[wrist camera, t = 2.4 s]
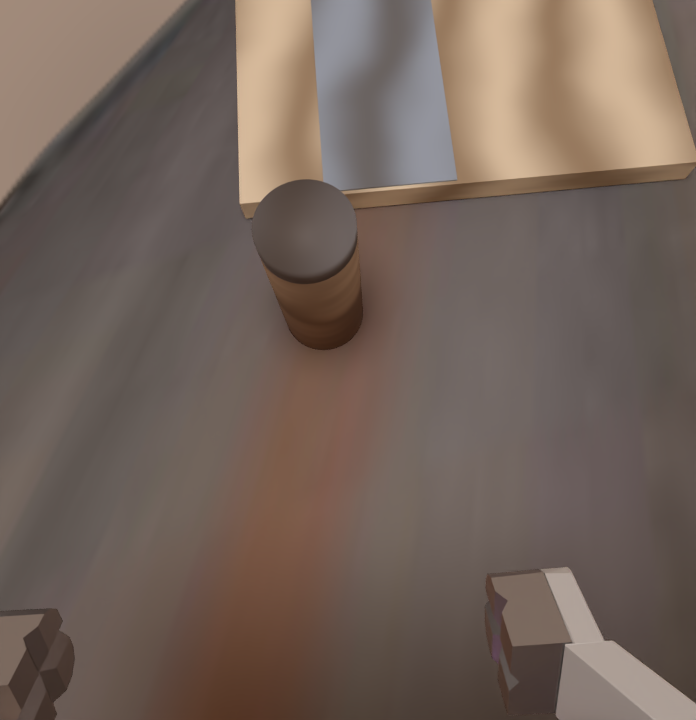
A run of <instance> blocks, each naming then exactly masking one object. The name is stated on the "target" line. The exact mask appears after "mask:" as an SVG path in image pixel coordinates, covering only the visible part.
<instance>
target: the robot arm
mask: <svg viewBox="0 0 696 720" xmlns="http://www.w3.org/2000/svg"><path fill="white" fill-rule="evenodd" d="M486 592H487V596H488V599H489V601H488V602H487V603H486V605H485V626H486V635H487V640H488V645H489V649H490V653H491V657H492V659H494V660H495V661H496V662H497V663H498V664H499V667H498V683H499V686H500V690H501V693H502V697H503V701H504V704H505V708H506V711H507V715H530V714H551V713H556V717H557V718H558V719H559V720H696V703H694V702H693V701H692V700H690V699H689V698H688V697H686V696H685V695H684V694H683V693H681V692H680V691H679V690H677V689H676V688H675V687H673V686H672V685H671V684H669V683H668V682H667V681H665V680H664V679H663V678H661V677H660V676H659V675H658V674H656V673H655V672H654V671H652V670H651V669H650V668H648V667H647V666H646V665H644V664H643V663H642V662H640V661H639V660H638V659H637V658H635V657H634V656H633V655H631V654H630V653H629V652H627V651H626V650H625V649H623V648H622V647H621V646H619V645H618V644H617V643H615V642H614V641H604V638H603V636H602V634H601V632H600V630H599V628H598V626H597V624H596V622H595V619H594V617H593V615H592V613H591V611H590V609H589V607H588V605H587V603H586V601H585V598H584V596H583V594H582V592H581V590H580V588H579V586H578V584H577V582H576V579H575V577H574V575H573V573H572V571H571V570H570V569H569V568H568V567H562V568H550V569H541V570H539V569H535V570H523V571H512V572H501V573H490V574H487V577H486ZM62 622H63V620H62V618H61V616H60V614H59V612H58V610H57V609H53V608H46V609H26V610H6V611H0V720H55V718H56V715H57V712H56V709H55V706H54V702H55V701H56V700H57V699H58V698H59V697H60V696H61V695H62V694H63V693H64V692H65V691H66V690H67V688H68V685H69V683H70V680H71V678H72V675H73V668H74V661H75V655H74V647H73V644H72V641H71V639H70V637H69V636H67V635H66V634H64V633H63V632H61V631H60V630H59V629H60V627H61V624H62Z"/></svg>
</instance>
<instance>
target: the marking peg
mask: <svg viewBox="0 0 696 720" xmlns="http://www.w3.org/2000/svg"><path fill="white" fill-rule="evenodd" d="M252 237H253V241H254V244H255V246H256V249H257V251H258V253H259V256H260V258H261V261H262V263H263V266H264V268H265V271H266V273H267V276H268V278H269V280H270V283H271V285H272V288H273V290H274V293H275V295H276V298H277V300H278V302H279V305H280V307H281V310H282V312H283V315H284V317H285V320H286V322H287V325H288V327H289V329H290V331H291V333H292V334H293V336H294V337H295V338H296V339H297V340H298V341H299V342H301V343H302V344H304V345H305V346H308V347H310V348H314V349H319V350H328V349H333V348H337V347H339V346H342V345H343V344H345V343H347V342H348V341H349V340H351V339H352V338H353V337H354V335H355V334H356V333H357V331H358V329H359V328H360V325H361V322H362V317H363V306H362V292H361V278H360V264H359V250H358V236H357V223H356V215H355V211H354V208H353V206H352V204H351V202H350V201H349V199H348V198H347V197H346V196H345V195H344V194H343V193H342V192H341V191H340V190H339V189H337V188H336V187H334V186H332V185H330V184H328V183H326V182H322V181H318V180H311V179H301V180H294V181H291V182H287V183H285V184H282V185H280V186H278V187H276V188H275V189H273V190H272V191H271V192H269V193H268V194H267V195H266V196H265V197H264V198H263V199H262V201H261V202H260V203H259V205H258V206H257V208H256V210H255V213H254V216H253V220H252Z"/></svg>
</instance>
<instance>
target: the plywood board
mask: <svg viewBox="0 0 696 720" xmlns="http://www.w3.org/2000/svg"><path fill="white" fill-rule="evenodd" d="M236 48H237V96H238V144H239V193H240V206H241V208H242V211H243V213H244V216H245V218H246V219H247V218H253V216H254V213H255V210H256V208H257V206H258V205H259V203H260V202H261V201H262V199H263V198H264V197H265V196H266V195H267V194H268V193H269V192H271V191H272V190H273V189H275V188H276V187H278V186H280V185H282V184H285V183H287V182H291V181H294V180H301V179H311V180H318V181H322V182H326V183H328V184H330V185H332V186H334V187H336V188H337V189H339V190H340V191H341V192H342V193H343V194H344V195H345V196H346V197H347V198H348V199H349V201H350V202H351V204H352V206H353V208H354V209H357V208H368V207H379V206H390V205H401V204H412V203H423V202H434V201H445V200H456V199H467V198H478V197H489V196H500V195H511V194H522V193H533V192H544V191H555V190H566V189H577V188H588V187H599V186H610V185H621V184H633V183H644V182H655V181H666V180H677V179H685V178H686V177H687V176H688V175H689V174H690V172H691V171H692V170H693V169H694V167H695V166H696V149H695V146H694V142H693V139H692V136H691V132H690V129H689V125H688V122H687V118H686V115H685V111H684V108H683V105H682V101H681V98H680V94H679V91H678V87H677V84H676V81H675V77H674V74H673V70H672V67H671V63H670V60H669V56H668V53H667V50H666V46H665V43H664V39H663V36H662V32H661V29H660V25H659V22H658V19H657V15H656V12H655V8H654V5H653V1H652V0H236Z"/></svg>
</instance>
